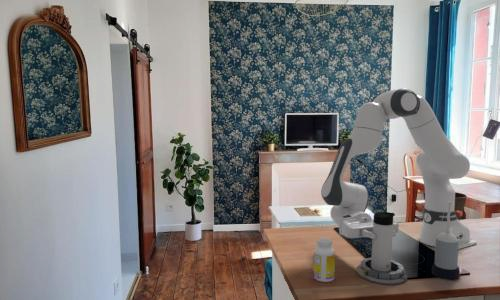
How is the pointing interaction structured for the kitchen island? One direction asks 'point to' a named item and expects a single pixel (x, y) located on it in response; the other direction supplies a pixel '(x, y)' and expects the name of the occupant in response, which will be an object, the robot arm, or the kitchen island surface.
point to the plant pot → (459, 203)
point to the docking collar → (382, 273)
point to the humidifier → (446, 253)
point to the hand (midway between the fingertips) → (384, 235)
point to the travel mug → (382, 242)
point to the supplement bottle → (324, 260)
